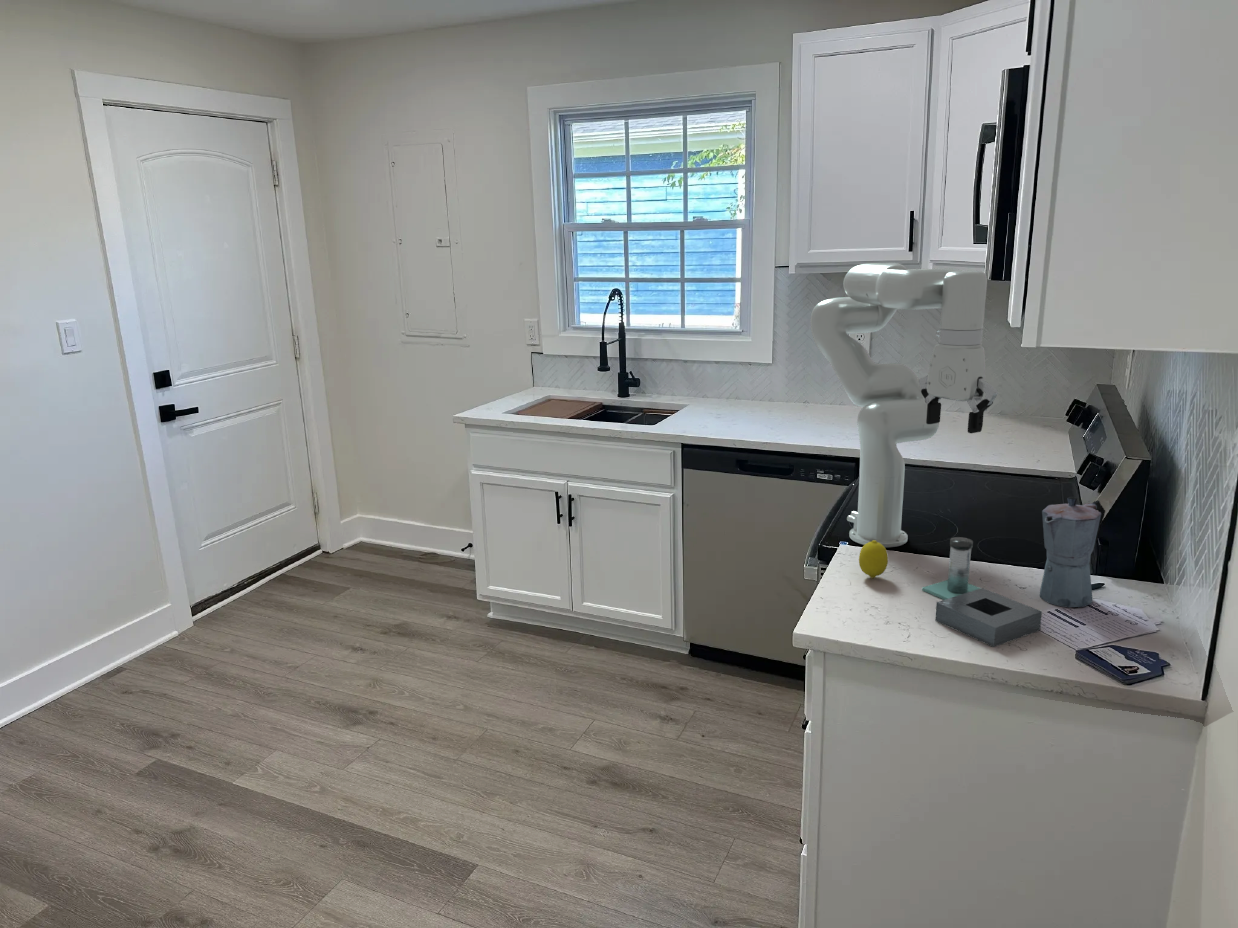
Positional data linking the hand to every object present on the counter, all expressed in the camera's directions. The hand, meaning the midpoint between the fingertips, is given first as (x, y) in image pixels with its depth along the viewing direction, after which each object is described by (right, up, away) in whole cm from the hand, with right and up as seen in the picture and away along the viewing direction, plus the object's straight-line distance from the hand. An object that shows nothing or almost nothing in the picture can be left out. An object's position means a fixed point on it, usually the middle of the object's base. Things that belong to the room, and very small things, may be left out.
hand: (953, 427), depth 162 cm
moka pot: (+19, -32, -5) cm, 38 cm away
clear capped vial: (0, -31, -2) cm, 31 cm away
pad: (0, -32, -1) cm, 32 cm away
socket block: (0, -35, -15) cm, 38 cm away
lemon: (-14, -30, +7) cm, 34 cm away
